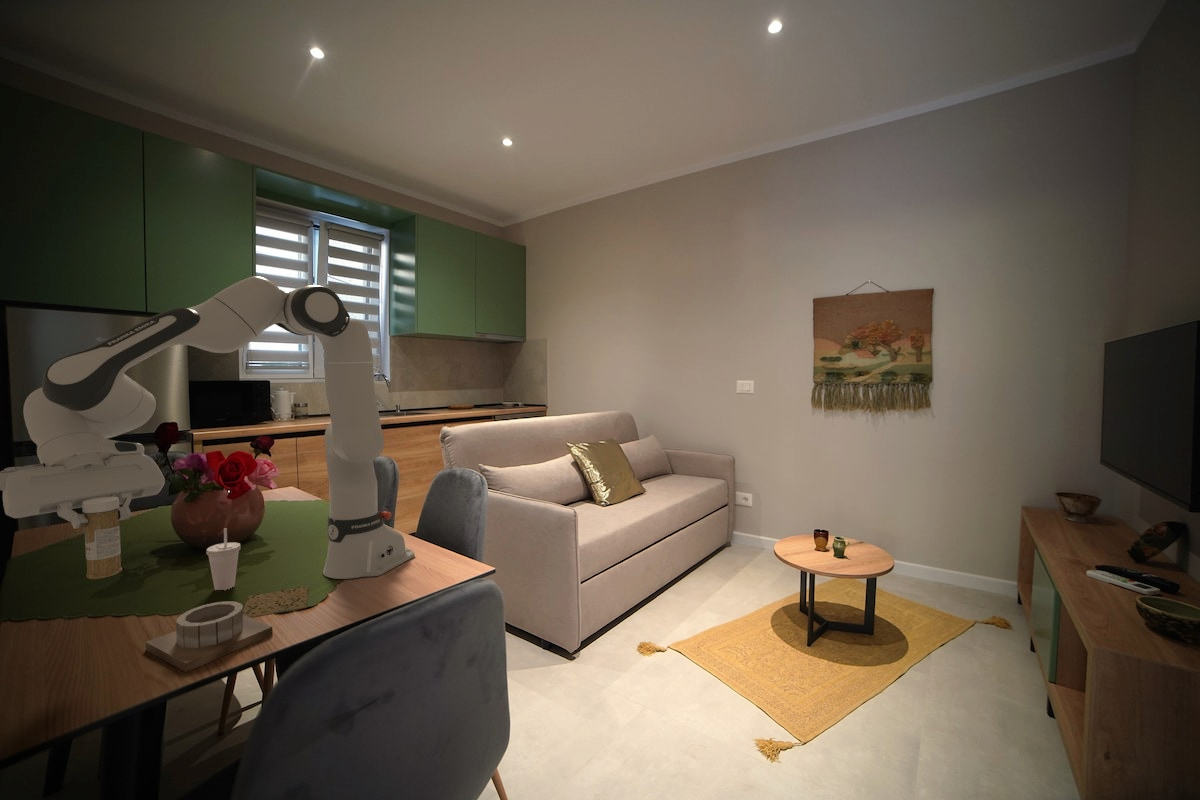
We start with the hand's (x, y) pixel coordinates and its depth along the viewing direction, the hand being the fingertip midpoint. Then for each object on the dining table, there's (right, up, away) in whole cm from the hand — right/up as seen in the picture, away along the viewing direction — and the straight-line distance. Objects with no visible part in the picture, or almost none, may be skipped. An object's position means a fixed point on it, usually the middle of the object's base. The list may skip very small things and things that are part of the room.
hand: (103, 521), depth 87 cm
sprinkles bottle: (-1, -10, +1) cm, 10 cm away
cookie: (+15, -24, +23) cm, 36 cm away
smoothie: (-1, -23, +30) cm, 37 cm away
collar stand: (+14, -24, +6) cm, 28 cm away
